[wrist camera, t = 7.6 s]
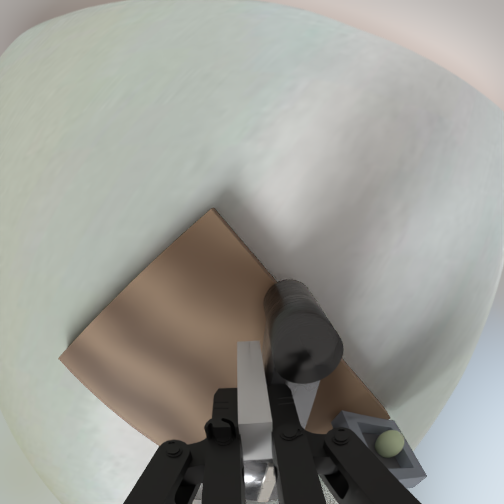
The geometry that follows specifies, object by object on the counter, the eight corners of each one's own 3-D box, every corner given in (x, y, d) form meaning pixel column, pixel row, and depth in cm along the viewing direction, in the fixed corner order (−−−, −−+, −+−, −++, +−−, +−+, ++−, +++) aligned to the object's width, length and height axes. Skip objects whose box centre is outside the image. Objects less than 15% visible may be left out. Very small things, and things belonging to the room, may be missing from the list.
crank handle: (296, 457, 20) (305, 507, 14) (219, 456, 20) (216, 508, 14) (345, 283, 17) (390, 325, 11) (232, 274, 16) (226, 320, 10)
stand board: (243, 482, 24) (243, 494, 22) (66, 349, 19) (56, 360, 17) (384, 407, 22) (391, 419, 20) (213, 207, 17) (210, 209, 15)
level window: (384, 431, 21) (413, 487, 13) (330, 422, 20) (355, 492, 12) (401, 412, 20) (436, 467, 12) (349, 401, 19) (383, 471, 12)
